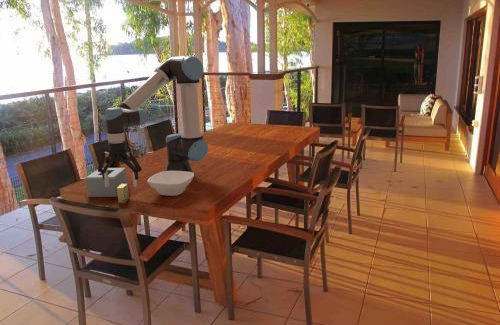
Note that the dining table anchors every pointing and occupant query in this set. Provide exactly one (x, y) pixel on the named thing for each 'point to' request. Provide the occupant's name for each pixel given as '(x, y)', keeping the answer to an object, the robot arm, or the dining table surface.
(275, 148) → the dining table surface
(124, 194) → the token
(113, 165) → the mug
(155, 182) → the bowl
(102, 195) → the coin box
